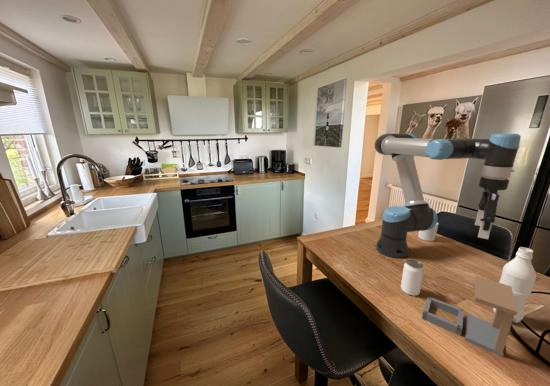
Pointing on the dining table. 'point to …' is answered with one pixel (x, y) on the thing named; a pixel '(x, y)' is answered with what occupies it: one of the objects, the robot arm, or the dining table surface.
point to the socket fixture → (476, 328)
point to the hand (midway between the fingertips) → (480, 231)
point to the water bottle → (519, 279)
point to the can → (412, 277)
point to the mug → (428, 234)
